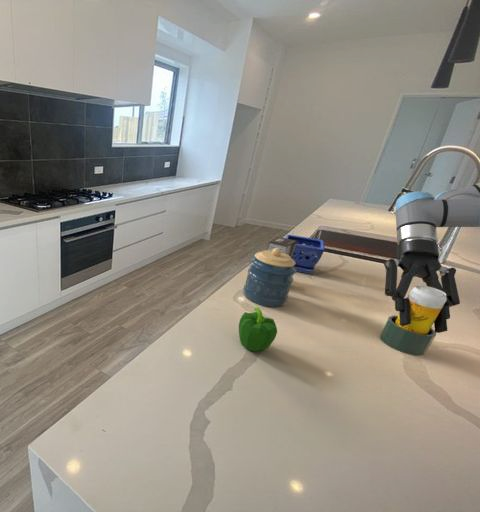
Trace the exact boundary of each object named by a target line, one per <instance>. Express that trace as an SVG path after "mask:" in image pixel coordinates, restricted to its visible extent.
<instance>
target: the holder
mask: <svg viewBox="0 0 480 512" xmlns="http://www.w3.org/2000/svg"><path fill="white" fill-rule="evenodd" d="M398 316H399V315H390V316H388V318H387V320H386V322H385V324H384V325H383V328H382V330H381V332H380V335H379V339H380V341H382V342H383V344H385V345H386V346H388V347H390V348H392V349H394V350H396V351H398V352H401V353H403V354H408V355H412V356H424V355H425V354H426V352H428V350H429V348H430V346H431V344H432V343H433V341H434V340H435V338H436V337H437V332H435V329H433V328H432V327H431V329H430V330H429V332H428V334H427V335H423V334H418V333H414V332H411V331H408V330H406V329H404V328H401V327H399V326H398V325H396V324H395V322H396V320H397V318H398Z"/></svg>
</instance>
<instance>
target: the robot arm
mask: <svg viewBox="0 0 480 512" xmlns="http://www.w3.org/2000/svg"><path fill="white" fill-rule="evenodd" d="M394 214H395V225H396V226H395V227H396V243H397V247H396V250H397V259H394V258H389V259H388V260H387V261H385V262H384V263H383V266H384V268H385V282H384V283H385V285H384V295H385V296H386V297H391V300H392V301H393V302H394V310H395V311H396V312H398V313H399V314H398V316H399V317H400V325H402V326H405V325H408V324H411V317H410V301H409V298H408V297H406V296H407V293H408V291H409V288H410V286H411V283H412V281H413V278H419V279H421V280H422V282H423V283H425V286H428V287H432V288H435V289H438V290H441V291H443V292H444V293H446V299H447V300H446V302H445V304H444V305H443V307H442V309H441V311H440V313H439V314H438V316H437V318H436V320H435V321H434V323H433V325H434V326H433V327H434V331H435V332H436V334H440V333H445V332H448V322H447V320H449V319H450V318H451V312H450V308H452V307H455V306H458V305H460V304H461V300H460V295H459V291H458V287H457V286H458V285H457V282H456V277H455V276H456V272H457V268H455V267H450V268H449V267H445V266H442V264H441V263H440V261H439V257H440V251H439V244H438V242H439V239H438V231H437V228H480V182H478V183H475V184H471V185H468V186H465V187H462V188H459V189H448V190H445V191H441V192H440V193H438V194H437V195H436V196H433V194H432V193H430V192H427V191H425V192H424V191H423V190H422V191H411V192H407V193H405V194H403V195H401V196H400V197H398V198H397V200H396V201H395V213H394ZM398 267H399V268H400V269H401V270H402V273H401V276H400V279H399V280H400V281H399V283H398ZM437 272H439V274H438V273H437ZM439 276H440V280H439ZM440 281H441V282H440ZM397 284H398V285H397Z"/></svg>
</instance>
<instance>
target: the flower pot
mask: <svg viewBox="0 0 480 512" xmlns="http://www.w3.org/2000/svg"><path fill="white" fill-rule="evenodd" d="M285 238H287V239H291V240H295V241H297V243H296V247H295V250H294V253H293V256H292V259H293V260H294V261H295V263H296V264H295V265H294V267H295V268H296V272H299V273H303V274H312V273H313V272H314V271H315V266H316V265H317V264H318V263H319V261H320V260H321V258H322V256H323V254H324V252H325V249H326V248H325V241H324V240H323V239H318V238H313V237H307V236H301V235H293V234H286V235H285Z"/></svg>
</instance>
